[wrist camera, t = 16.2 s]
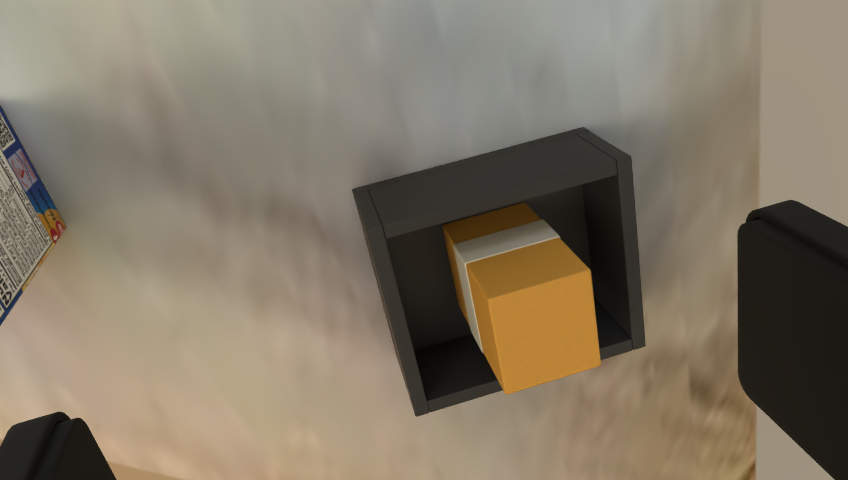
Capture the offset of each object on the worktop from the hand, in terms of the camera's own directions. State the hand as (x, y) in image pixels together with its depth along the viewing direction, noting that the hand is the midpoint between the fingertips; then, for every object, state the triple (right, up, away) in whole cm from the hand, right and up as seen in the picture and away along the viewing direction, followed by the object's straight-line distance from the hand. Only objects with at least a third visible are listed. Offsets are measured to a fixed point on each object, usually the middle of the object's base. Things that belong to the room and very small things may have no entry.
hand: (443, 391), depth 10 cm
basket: (+3, +2, +32) cm, 32 cm away
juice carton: (+4, +1, +31) cm, 31 cm away
